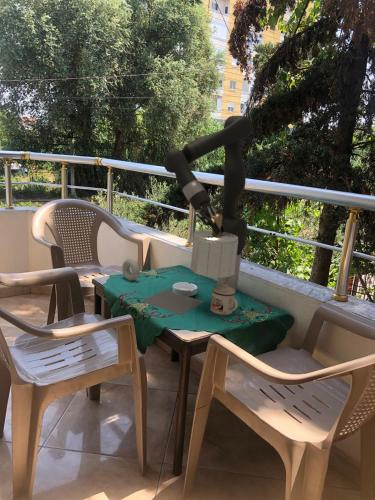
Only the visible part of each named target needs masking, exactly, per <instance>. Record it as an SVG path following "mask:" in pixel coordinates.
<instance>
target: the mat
mask: <svg viewBox="0 0 375 500" xmlns="http://www.w3.org/2000/svg"><path fill="white" fill-rule="evenodd" d="M173 292H174V291H171V290H168V289H165V290H162V291H161V292H158V293H155V294H153V295H150V296H148V297H146V298H144V299H141V300H140V302H142V303H146V304H148V305H152V306H154V307H158V308H160V309H162V310H165V311H169V312H171V313H175V314H177V315H183V314H185V313H186V312H189V311H190V310H193V309H194V308H196V307H198V306H200V305H203V304H204V303H205V301H202V300H200V299H196V298H194V297H191V296H187V295H185V296H179V295H176V294H174V293H173Z"/></svg>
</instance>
